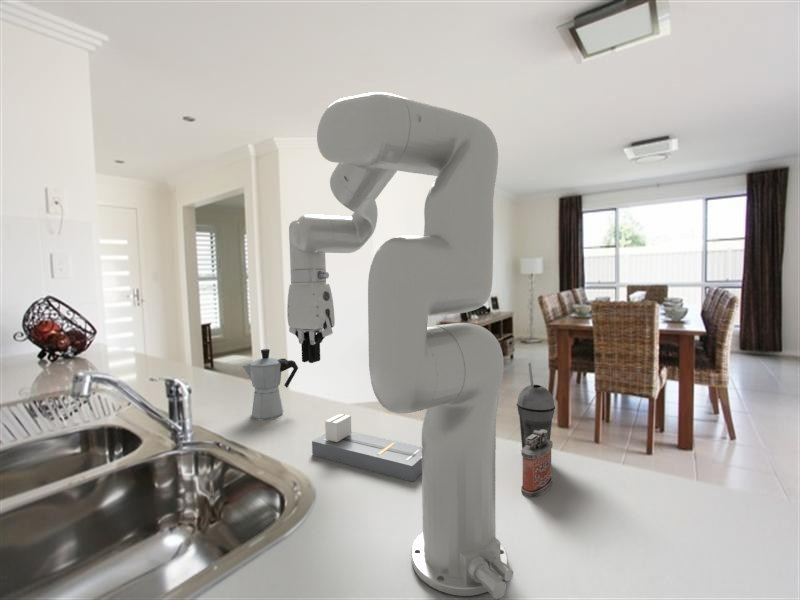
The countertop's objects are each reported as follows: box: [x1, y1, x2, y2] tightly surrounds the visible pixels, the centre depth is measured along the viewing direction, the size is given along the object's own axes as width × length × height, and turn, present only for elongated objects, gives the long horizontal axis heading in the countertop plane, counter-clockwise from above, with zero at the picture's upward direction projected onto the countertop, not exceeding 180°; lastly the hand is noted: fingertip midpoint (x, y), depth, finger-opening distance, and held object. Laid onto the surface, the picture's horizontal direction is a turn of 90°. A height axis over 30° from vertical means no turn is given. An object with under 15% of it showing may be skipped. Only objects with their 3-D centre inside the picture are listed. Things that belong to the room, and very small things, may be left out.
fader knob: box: [324, 413, 352, 442], centre depth 88 cm, size 3×5×4 cm, turn 151°
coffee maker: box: [240, 348, 299, 421], centre depth 112 cm, size 15×9×18 cm, turn 104°
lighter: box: [520, 429, 554, 499], centre depth 72 cm, size 8×3×10 cm, turn 135°
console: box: [311, 431, 422, 482], centre depth 84 cm, size 24×8×3 cm, turn 60°
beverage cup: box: [516, 362, 556, 450], centre depth 81 cm, size 7×7×20 cm
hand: (311, 360), depth 90 cm, fingers closed
